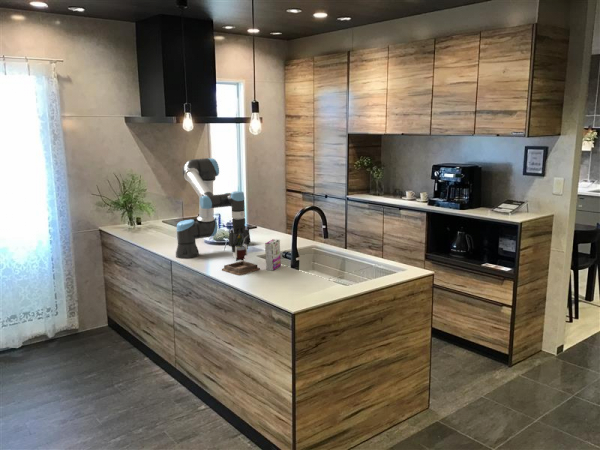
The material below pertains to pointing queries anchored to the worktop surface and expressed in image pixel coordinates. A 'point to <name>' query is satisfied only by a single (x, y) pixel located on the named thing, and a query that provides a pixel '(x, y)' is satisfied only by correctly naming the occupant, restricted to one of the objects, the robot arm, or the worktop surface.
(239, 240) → the squash
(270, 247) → the candy bar box
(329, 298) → the worktop surface
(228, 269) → the holder board
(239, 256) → the mate gourd
